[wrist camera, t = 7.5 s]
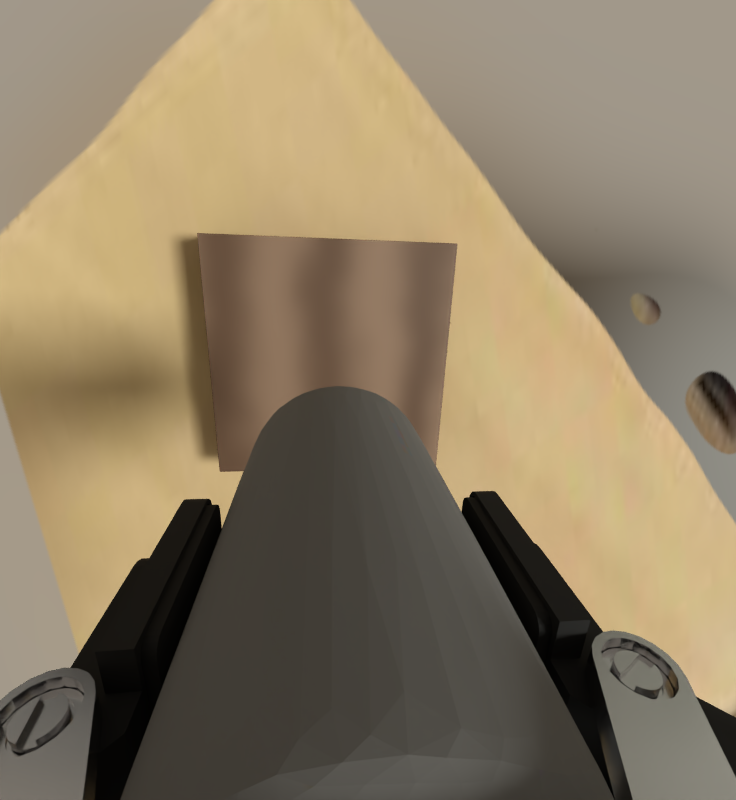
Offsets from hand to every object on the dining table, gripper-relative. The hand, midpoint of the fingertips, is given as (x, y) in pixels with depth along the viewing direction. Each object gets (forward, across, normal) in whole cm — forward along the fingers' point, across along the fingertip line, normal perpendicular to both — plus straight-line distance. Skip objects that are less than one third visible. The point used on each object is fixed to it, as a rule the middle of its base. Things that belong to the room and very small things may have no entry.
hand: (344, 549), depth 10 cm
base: (+22, 0, 0) cm, 22 cm away
